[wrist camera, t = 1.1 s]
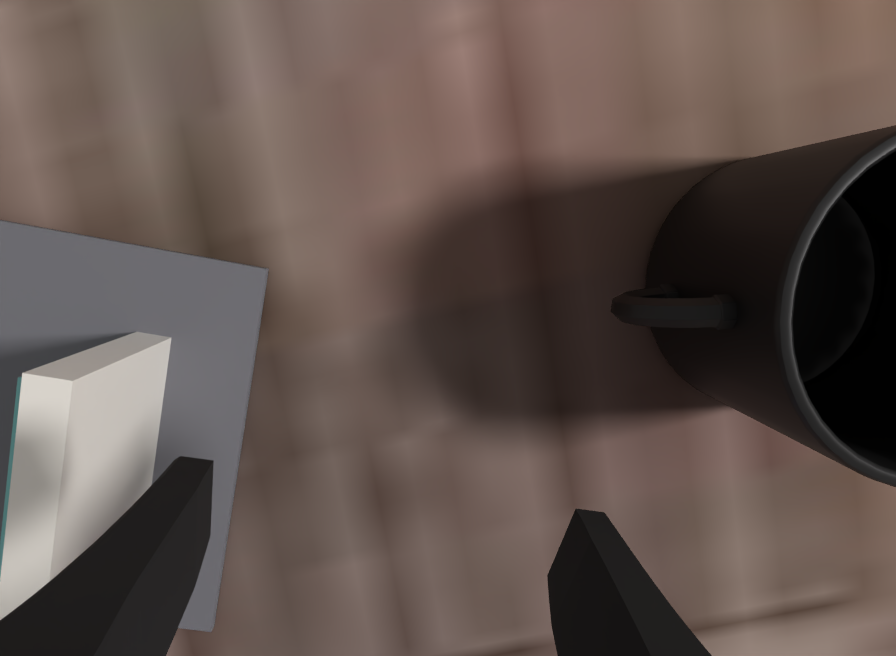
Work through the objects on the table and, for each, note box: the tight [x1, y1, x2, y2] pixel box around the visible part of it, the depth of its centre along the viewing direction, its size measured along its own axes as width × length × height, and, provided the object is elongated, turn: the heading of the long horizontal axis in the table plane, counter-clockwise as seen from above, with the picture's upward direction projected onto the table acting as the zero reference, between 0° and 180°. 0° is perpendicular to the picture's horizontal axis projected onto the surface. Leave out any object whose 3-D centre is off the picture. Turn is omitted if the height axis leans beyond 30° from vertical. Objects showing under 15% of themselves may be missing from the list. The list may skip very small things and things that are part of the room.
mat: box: [0, 220, 269, 632], centre depth 23 cm, size 14×13×1 cm
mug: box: [611, 125, 896, 487], centre depth 20 cm, size 9×12×9 cm
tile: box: [0, 332, 171, 620], centre depth 20 cm, size 8×1×7 cm, turn 169°
